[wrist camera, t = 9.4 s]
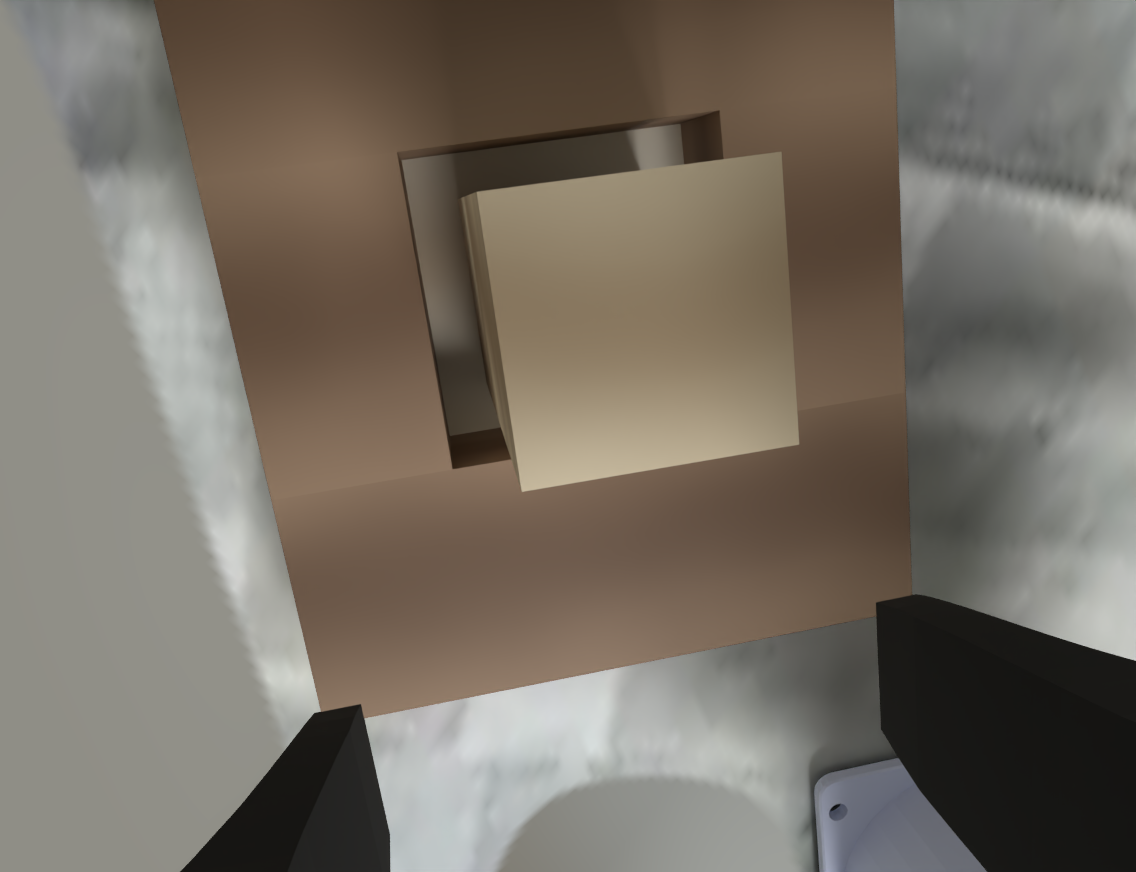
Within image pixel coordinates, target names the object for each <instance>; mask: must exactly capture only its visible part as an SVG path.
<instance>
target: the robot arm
mask: <svg viewBox="0 0 1136 872" xmlns="http://www.w3.org/2000/svg"><path fill="white" fill-rule="evenodd" d="M876 619H877V642H878V665H879V688H880V712H881V730H882V731H883V733H884V735H885V736H886V738H887V740H888V741H889V743H890V744H891V746H892V748H893V749H894V751H895V753H896V754H897V756H898V758H895V759H891V760H886V761H882V762H877V763H873V764H868V765H863V766H859V767H854V768H850V769H845V770H841V771H836V772H831V773H829V774H826V775H824V776H823V777H822V778H820V779H819V780H818V782H817V784H816V785H815V790H814V797H815V812H816V826H817V841H818V856H819V871H820V872H1136V661H1134V660H1131V659H1127V658H1123V657H1120V656H1116V655H1113V654H1109V653H1106V652H1102V651H1099V650H1095V649H1092V648H1089V647H1085V646H1082V645H1079V644H1076V643H1072V642H1069V641H1066V640H1063V639H1060V638H1057V637H1053V636H1050V635H1047V634H1044V633H1041V632H1038V631H1035V630H1032V629H1029V628H1026V627H1023V626H1020V625H1017V624H1014V623H1011V622H1008V621H1005V620H1002V619H999V618H996V617H993V616H990V615H987V614H984V613H981V612H978V611H975V610H972V609H969V608H966V607H963V606H959V605H956V604H953V603H950V602H946V601H943V600H939V599H935V598H932V597H927V596H923V595H918V594H915V595H910V596H905V597H900V598H895V599H890V600H885V601H880V602H876ZM836 804H840V806H839V807H838V808H837V809H836V810H834V811H830V809H831V808H832V807H833V806H834V805H836ZM180 872H390V833H389V829H388V824H387V820H386V815H385V811H384V806H383V801H382V797H381V792H380V788H379V783H378V779H377V774H376V770H375V765H374V761H373V756H372V752H371V747H370V743H369V738H368V734H367V729H366V725H365V720H364V715H363V711H362V706H361V704H358V705H353V706H348V707H343V708H338V709H333V710H328V711H323V712H318V713H314V714H313V715H312V717H311V718H310V719H309V720H308V721H307V723H306V724H305V725H304V726H303V728H302V729H301V730H300V732H299V733H298V734H297V735H296V737H295V738H294V739H293V741H292V742H291V743H290V744H289V746H288V747H287V748H286V750H285V751H284V752H283V753H282V755H281V756H280V757H279V759H278V760H277V761H276V762H275V764H274V765H273V766H272V767H271V769H270V770H269V771H268V773H267V774H266V775H265V776H264V777H263V779H262V780H261V781H260V782H259V784H258V785H257V786H256V788H255V789H254V790H253V791H252V792H251V794H250V795H249V796H248V797H247V799H246V800H245V801H244V802H243V803H242V805H241V806H240V807H239V808H238V809H237V810H236V812H235V813H234V814H233V815H232V816H231V817H230V818H229V819H228V820H227V821H226V823H225V824H224V825H223V826H222V827H221V828H220V829H219V830H218V831H217V832H216V834H215V835H214V836H213V837H212V838H211V839H210V840H209V841H208V842H207V844H206V845H205V846H204V847H203V848H202V849H201V850H200V851H199V852H198V854H197V855H196V856H195V857H194V858H193V859H192V860H191V861H190V862H189V863H188V864H187V865H186V866H185V867H184V868H183V869H182V871H180Z"/></svg>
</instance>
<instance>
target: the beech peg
mask: <svg viewBox="0 0 1136 872" xmlns="http://www.w3.org/2000/svg"><path fill="white" fill-rule="evenodd" d="M458 204H459V210H460V216H461V223H462V229H463V236H464V242H465V248H466V255H467V261H468V268H469V274H470V280H471V287H472V293H473V300H474V306H475V312H476V319H477V325H478V332H479V338H480V344H481V351H482V357H483V364H484V370H485V376H486V383H487V386H488V389H489V392H490V395H491V398H492V401H493V404H494V408H495V411H496V414H497V417H498V420H499V423H500V426H501V429H502V432H503V435H504V439H505V442H506V445H507V448H508V451H509V454H510V457H511V460H512V463H513V466H514V470H515V473H516V476H517V479H518V482H519V485H520V488H521V491H522V492H525V491H530V490H536V489H542V488H548V487H554V486H560V485H566V484H571V483H577V482H583V481H589V480H595V479H601V478H607V477H612V476H618V475H624V474H630V473H636V472H642V471H648V470H653V469H659V468H665V467H671V466H677V465H683V464H689V463H694V462H700V461H706V460H712V459H718V458H724V457H730V456H735V455H741V454H747V453H753V452H759V451H765V450H771V449H776V448H782V447H788V446H794V445H799V431H798V415H797V399H796V382H795V366H794V349H793V333H792V317H791V300H790V284H789V267H788V251H787V235H786V218H785V202H784V186H783V169H782V153H781V152H775V153H767V154H760V155H752V156H744V157H737V158H729V159H722V160H714V161H706V162H699V163H691V164H684V165H676V166H669V167H661V168H653V169H646V170H638V171H631V172H623V173H615V174H608V175H600V176H593V177H585V178H577V179H570V180H562V181H555V182H547V183H539V184H532V185H524V186H517V187H509V188H501V189H494V190H486V191H479V192H475V193H472V194H470V195H467V196H465V197H462V198H460V199H458Z"/></svg>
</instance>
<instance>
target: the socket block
mask: <svg viewBox="0 0 1136 872" xmlns="http://www.w3.org/2000/svg"><path fill="white" fill-rule="evenodd" d="M154 3H155V7H156V11H157V16H158V20H159V24H160V28H161V33H162V37H163V41H164V45H165V50H166V54H167V58H168V62H169V67H170V71H171V75H172V79H173V84H174V88H175V92H176V96H177V101H178V105H179V109H180V113H181V118H182V122H183V126H184V131H185V135H186V139H187V143H188V148H189V152H190V156H191V160H192V165H193V169H194V173H195V177H196V182H197V186H198V190H199V194H200V199H201V203H202V207H203V211H204V216H205V220H206V224H207V228H208V233H209V237H210V241H211V245H212V250H213V254H214V258H215V262H216V267H217V271H218V275H219V279H220V284H221V288H222V292H223V296H224V301H225V305H226V309H227V313H228V318H229V322H230V326H231V330H232V335H233V339H234V343H235V347H236V352H237V356H238V360H239V364H240V369H241V373H242V377H243V381H244V386H245V390H246V394H247V398H248V403H249V407H250V411H251V415H252V420H253V424H254V428H255V432H256V437H257V441H258V445H259V449H260V454H261V458H262V462H263V466H264V471H265V475H266V479H267V483H268V488H269V492H270V496H271V500H272V505H273V509H274V513H275V517H276V522H277V526H278V530H279V534H280V539H281V543H282V547H283V552H284V556H285V560H286V564H287V569H288V573H289V577H290V581H291V586H292V590H293V594H294V598H295V603H296V607H297V611H298V615H299V620H300V624H301V628H302V632H303V637H304V641H305V645H306V649H307V654H308V658H309V662H310V666H311V671H312V675H313V679H314V683H315V688H316V692H317V696H318V700H319V705H320V709H321V712H323V711H328V710H333V709H338V708H343V707H348V706H353V705H358V704H361V706H362V711H363V715H364V718H368V717H373V716H378V715H383V714H388V713H393V712H398V711H403V710H408V709H413V708H418V707H423V706H428V705H433V704H438V703H443V702H449V701H454V700H459V699H464V698H469V697H474V696H479V695H484V694H489V693H494V692H499V691H504V690H509V689H514V688H519V687H524V686H529V685H534V684H539V683H544V682H549V681H554V680H559V679H564V678H569V677H574V676H579V675H584V674H589V673H594V672H599V671H604V670H609V669H614V668H619V667H624V666H629V665H634V664H639V663H644V662H649V661H654V660H659V659H664V658H669V657H674V656H679V655H684V654H689V653H694V652H699V651H705V650H710V649H715V648H720V647H725V646H730V645H735V644H740V643H745V642H750V641H755V640H760V639H765V638H770V637H775V636H780V635H785V634H790V633H795V632H800V631H805V630H810V629H815V628H820V627H825V626H830V625H835V624H840V623H845V622H850V621H855V620H860V619H865V618H870V617H875V616H876V602H880V601H885V600H890V599H895V598H900V597H905V596H910V595H912V578H911V546H910V514H909V481H908V449H907V416H906V384H905V352H904V319H903V287H902V254H901V222H900V190H899V157H898V125H897V92H896V60H895V28H894V0H154ZM775 152H781V153H782V169H783V186H784V202H785V218H786V235H787V251H788V267H789V284H790V300H791V317H792V333H793V349H794V366H795V382H796V399H797V415H798V431H799V445H794V446H788V447H782V448H776V449H771V450H765V451H759V452H753V453H747V454H741V455H735V456H730V457H724V458H718V459H712V460H706V461H700V462H694V463H689V464H683V465H677V466H671V467H665V468H659V469H653V470H648V471H642V472H636V473H630V474H624V475H618V476H612V477H607V478H601V479H595V480H589V481H583V482H577V483H571V484H566V485H560V486H554V487H548V488H542V489H536V490H530V491H525V492H522V491H521V488H520V485H519V482H518V479H517V476H516V473H515V470H514V466H513V463H512V460H511V457H510V454H509V451H508V448H507V445H506V442H505V439H504V435H503V432H502V429H501V426H500V423H499V420H498V417H497V414H496V411H495V408H494V404H493V401H492V398H491V395H490V392H489V389H488V386H487V383H486V376H485V370H484V364H483V357H482V351H481V344H480V338H479V332H478V325H477V319H476V312H475V306H474V300H473V293H472V287H471V280H470V274H469V268H468V261H467V255H466V248H465V242H464V236H463V229H462V223H461V216H460V210H459V204H458V199H460V198H462V197H465V196H467V195H470V194H472V193H475V192H479V191H486V190H494V189H501V188H509V187H517V186H524V185H532V184H539V183H547V182H555V181H562V180H570V179H577V178H585V177H593V176H600V175H608V174H615V173H623V172H631V171H638V170H646V169H653V168H661V167H669V166H676V165H684V164H691V163H699V162H706V161H714V160H722V159H729V158H737V157H744V156H752V155H760V154H767V153H775Z"/></svg>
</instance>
